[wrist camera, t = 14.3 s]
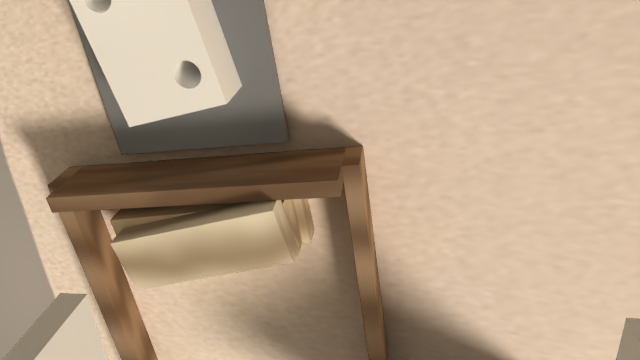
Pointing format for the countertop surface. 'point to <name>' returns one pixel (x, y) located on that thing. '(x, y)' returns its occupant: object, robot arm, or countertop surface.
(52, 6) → the countertop surface
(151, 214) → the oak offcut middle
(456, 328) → the countertop surface
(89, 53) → the charcoal mat
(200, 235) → the maple offcut top
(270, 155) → the walnut rack
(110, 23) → the bracket
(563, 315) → the countertop surface
